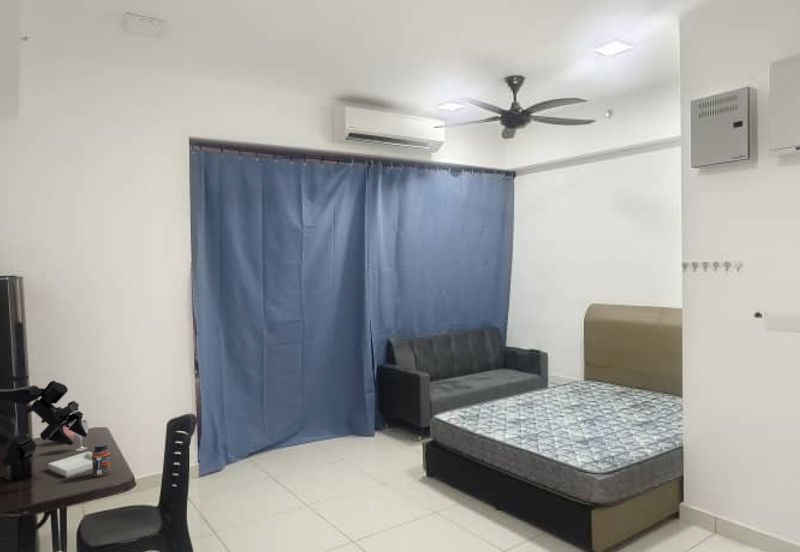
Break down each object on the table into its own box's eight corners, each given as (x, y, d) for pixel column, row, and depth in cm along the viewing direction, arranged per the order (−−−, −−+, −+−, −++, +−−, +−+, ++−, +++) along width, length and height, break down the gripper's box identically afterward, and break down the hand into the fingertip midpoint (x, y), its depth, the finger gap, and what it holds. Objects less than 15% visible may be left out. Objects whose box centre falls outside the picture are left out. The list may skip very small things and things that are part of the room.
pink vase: (76, 438, 248) (74, 412, 248) (74, 442, 242) (73, 416, 241) (56, 441, 245) (54, 414, 245) (54, 446, 238) (52, 419, 238)
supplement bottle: (103, 477, 200) (101, 447, 200) (89, 477, 201) (87, 447, 201) (114, 471, 206) (113, 442, 206) (101, 470, 207) (99, 441, 207)
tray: (67, 477, 201) (66, 470, 201) (48, 469, 210) (48, 463, 210) (107, 464, 214) (107, 458, 214) (88, 457, 222) (88, 451, 222)
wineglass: (78, 452, 229) (76, 424, 228) (71, 450, 232) (69, 422, 232) (92, 448, 234) (90, 420, 233) (84, 446, 237) (83, 419, 236)
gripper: (47, 403, 193) (79, 432, 194) (76, 390, 212) (106, 417, 212) (25, 425, 193) (58, 455, 194) (57, 411, 212) (87, 437, 212)
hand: (79, 440), depth 203 cm, fingers open, 9 cm apart
